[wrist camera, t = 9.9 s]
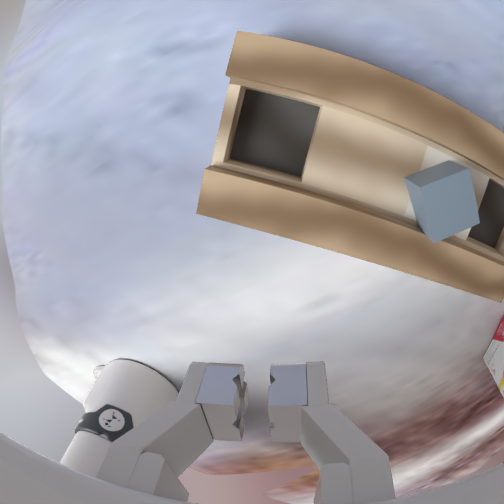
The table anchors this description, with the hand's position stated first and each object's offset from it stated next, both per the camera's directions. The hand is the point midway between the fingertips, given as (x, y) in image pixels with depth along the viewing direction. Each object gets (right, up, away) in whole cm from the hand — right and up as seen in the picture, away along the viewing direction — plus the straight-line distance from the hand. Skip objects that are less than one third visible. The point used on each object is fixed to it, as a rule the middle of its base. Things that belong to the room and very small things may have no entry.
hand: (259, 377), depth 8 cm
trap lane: (+14, +12, +18) cm, 26 cm away
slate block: (+16, +9, +15) cm, 24 cm away
